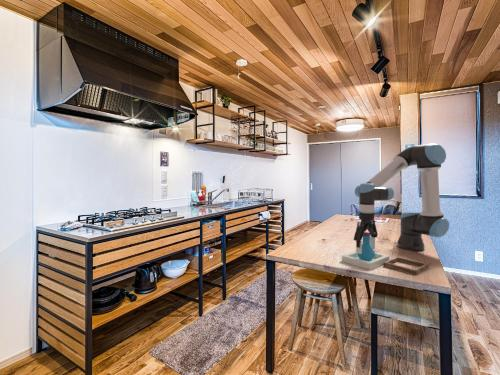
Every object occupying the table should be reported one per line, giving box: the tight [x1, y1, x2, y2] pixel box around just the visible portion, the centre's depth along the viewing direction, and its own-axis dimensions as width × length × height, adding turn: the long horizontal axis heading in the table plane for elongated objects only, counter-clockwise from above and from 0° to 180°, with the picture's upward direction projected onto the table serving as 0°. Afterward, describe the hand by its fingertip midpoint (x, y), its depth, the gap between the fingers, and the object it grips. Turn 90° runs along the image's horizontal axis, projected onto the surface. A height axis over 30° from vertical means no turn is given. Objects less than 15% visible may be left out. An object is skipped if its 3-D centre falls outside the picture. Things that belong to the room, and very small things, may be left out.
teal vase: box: [357, 231, 376, 262], centre depth 142 cm, size 9×9×15 cm
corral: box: [383, 256, 429, 276], centre depth 133 cm, size 15×15×2 cm
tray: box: [341, 250, 391, 271], centre depth 142 cm, size 20×16×3 cm
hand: (365, 251), depth 142 cm, fingers open, 13 cm apart
